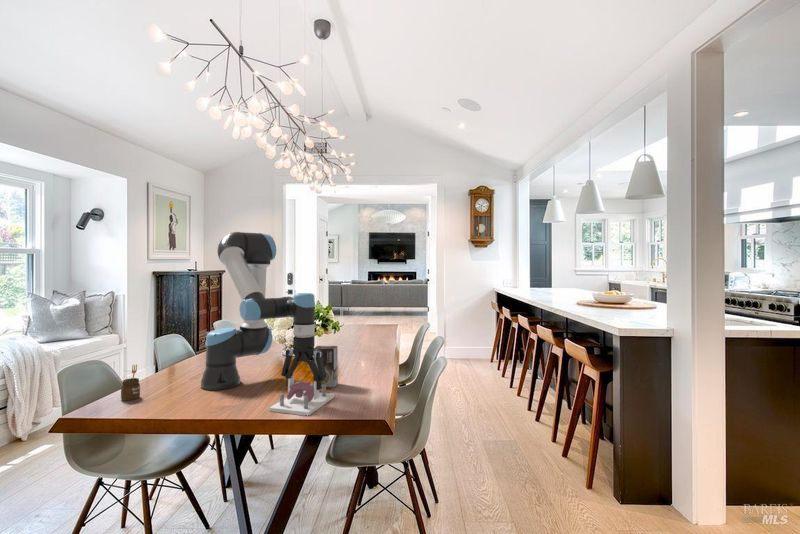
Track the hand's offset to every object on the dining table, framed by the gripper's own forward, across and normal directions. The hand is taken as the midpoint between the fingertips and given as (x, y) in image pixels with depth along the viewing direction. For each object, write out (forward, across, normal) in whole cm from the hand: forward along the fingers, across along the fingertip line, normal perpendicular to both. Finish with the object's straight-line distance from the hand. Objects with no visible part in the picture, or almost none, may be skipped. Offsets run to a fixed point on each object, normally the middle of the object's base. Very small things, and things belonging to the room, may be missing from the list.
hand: (303, 396), depth 142 cm
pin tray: (+2, 0, 0) cm, 2 cm away
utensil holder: (+3, -65, -14) cm, 66 cm away
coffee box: (+3, -3, +23) cm, 23 cm away
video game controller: (+1, 0, -1) cm, 1 cm away
